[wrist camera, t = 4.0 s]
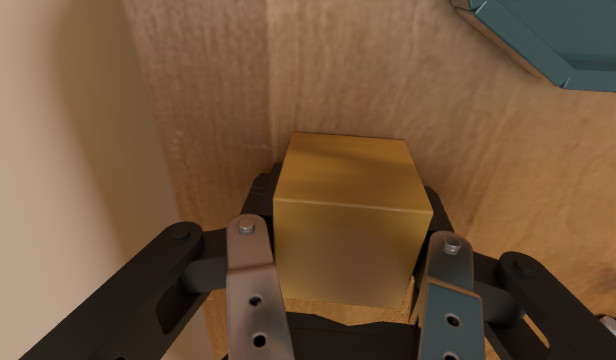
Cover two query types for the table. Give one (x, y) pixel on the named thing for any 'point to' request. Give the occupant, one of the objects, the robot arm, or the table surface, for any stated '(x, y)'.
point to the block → (348, 220)
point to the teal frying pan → (552, 38)
